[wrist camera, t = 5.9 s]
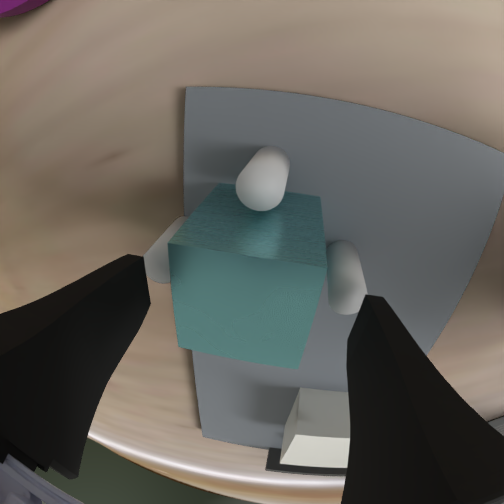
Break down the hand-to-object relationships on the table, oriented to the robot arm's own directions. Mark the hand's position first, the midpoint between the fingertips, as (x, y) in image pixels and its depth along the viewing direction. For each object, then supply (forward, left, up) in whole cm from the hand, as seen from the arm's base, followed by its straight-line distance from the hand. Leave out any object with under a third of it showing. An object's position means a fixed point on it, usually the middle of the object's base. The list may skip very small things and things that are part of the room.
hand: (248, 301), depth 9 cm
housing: (-7, +13, -4) cm, 15 cm away
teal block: (0, 0, -4) cm, 4 cm away
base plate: (-3, +8, -5) cm, 10 cm away
